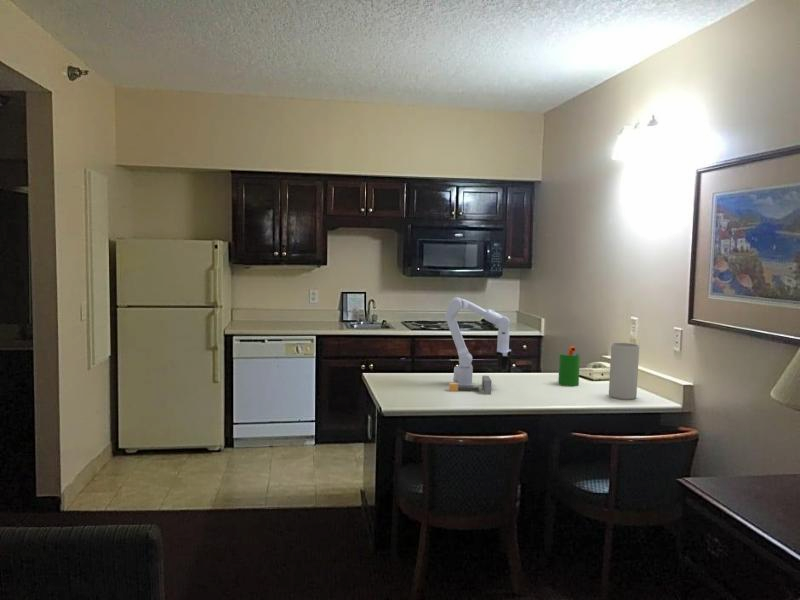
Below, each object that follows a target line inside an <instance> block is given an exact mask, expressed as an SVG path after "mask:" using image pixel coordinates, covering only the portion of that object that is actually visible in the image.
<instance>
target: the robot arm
mask: <svg viewBox="0 0 800 600" xmlns="http://www.w3.org/2000/svg"><path fill="white" fill-rule="evenodd" d="M449 301H450V302H449V303H448V304H447V309H446V312H445V320H446V323H447V326H448V329H449V331H450V333H451V337H452V339H453V343H454V344H455V348H456V351H457V355H458V366H454V368H453V379H452V381H453V383H458V386H473V387H475V386H474V383H473V374H474V373H473V371H474V370H473V369H474V367H473V365H472V362H473V355H472V354H471V353H470V352H469V349H468V348H467V346H466V343H465V340H464V337H463V335H462V332H461V329H460V327H459V323H458V321H457V319H456V317H457V315H458V313H459V312H460V310H461V309H462V310H470V311H472V312H474V313H476V314H478V315H480V316H483V317H482V318H483V319H484V320H485V321H487V322H489V323H490V324H493V325H495V326H498V329H497V330H498V331H497V341H496V342H497V343H496V344H497V345H496V352H495V354H496V357H497V362H498V363H497V364H498V367H500V370H507V365H508V363H509V360H510V359H511V355H508V354H509V352H512V349H510V325H511V321H510V318H509V317H508V316H506V315H504V314H502V313H498V312H496V311H495V309H493V308H492V309H490V308H489V309H485V308H482V307H481V306H479V305H477V304H475V303H474V302H471V300H467V299H464V298H461V297H459V296H455V297H453V298H452V299H451V300H449Z"/></svg>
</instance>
